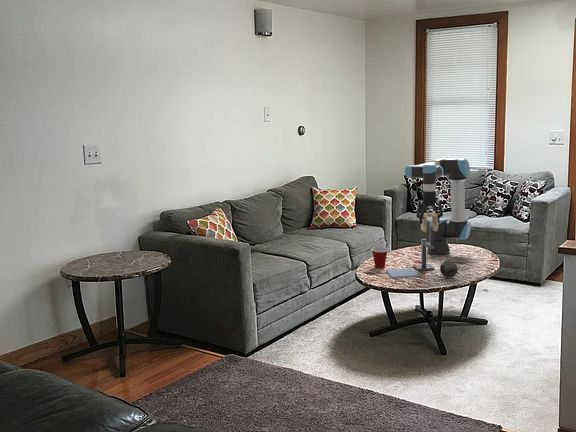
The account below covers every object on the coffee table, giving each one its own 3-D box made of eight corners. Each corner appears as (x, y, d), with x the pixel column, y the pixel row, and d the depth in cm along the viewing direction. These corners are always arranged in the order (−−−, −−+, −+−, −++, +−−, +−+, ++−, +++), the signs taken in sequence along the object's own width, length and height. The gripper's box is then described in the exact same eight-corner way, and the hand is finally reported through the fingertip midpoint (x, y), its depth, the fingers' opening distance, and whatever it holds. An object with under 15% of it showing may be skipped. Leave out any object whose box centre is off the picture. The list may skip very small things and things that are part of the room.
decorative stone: (437, 278, 365) (437, 261, 364) (444, 274, 373) (444, 257, 371) (453, 280, 359) (453, 263, 357) (460, 276, 367) (460, 259, 365)
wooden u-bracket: (434, 229, 374) (434, 212, 372) (437, 231, 369) (437, 213, 367) (421, 230, 373) (421, 213, 371) (424, 232, 368) (424, 214, 366)
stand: (429, 266, 392) (429, 237, 389) (440, 275, 371) (441, 244, 368) (413, 267, 392) (413, 238, 388) (424, 276, 370) (424, 245, 367)
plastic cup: (378, 270, 388) (377, 251, 385) (368, 266, 397) (367, 248, 395) (392, 267, 392) (392, 248, 390) (382, 264, 402) (381, 245, 400)
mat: (411, 269, 385) (411, 268, 385) (419, 276, 370) (419, 275, 369) (386, 271, 384) (385, 269, 384) (392, 278, 368) (392, 276, 368)
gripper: (413, 192, 362) (414, 231, 366) (449, 190, 364) (448, 229, 368) (410, 190, 369) (410, 228, 373) (444, 188, 371) (444, 226, 375)
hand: (429, 228), depth 371 cm, fingers closed on wooden u-bracket, 8 cm apart
